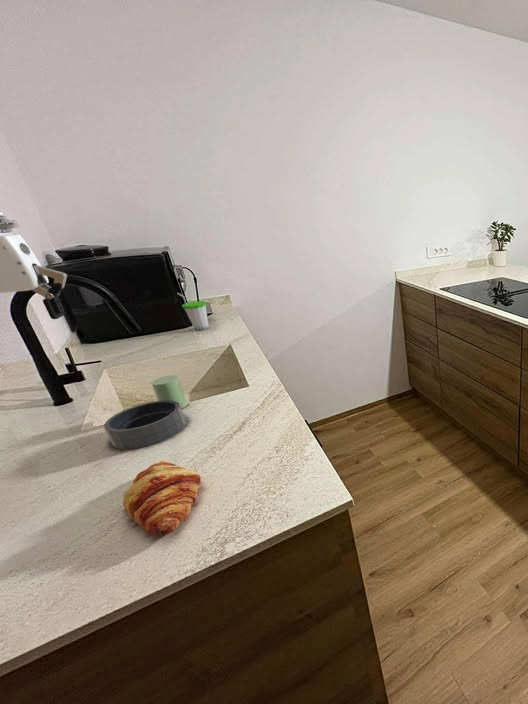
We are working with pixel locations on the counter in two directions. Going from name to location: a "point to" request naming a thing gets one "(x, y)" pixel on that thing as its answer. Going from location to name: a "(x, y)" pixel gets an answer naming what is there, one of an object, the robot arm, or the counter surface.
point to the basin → (145, 424)
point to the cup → (196, 313)
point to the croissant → (161, 497)
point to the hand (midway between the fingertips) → (24, 320)
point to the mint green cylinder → (169, 390)
